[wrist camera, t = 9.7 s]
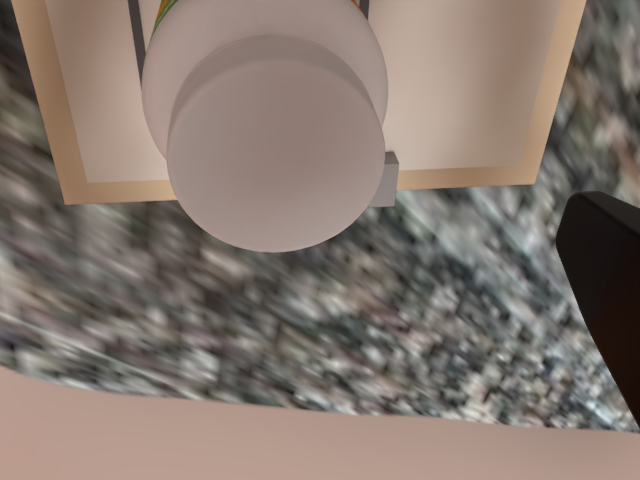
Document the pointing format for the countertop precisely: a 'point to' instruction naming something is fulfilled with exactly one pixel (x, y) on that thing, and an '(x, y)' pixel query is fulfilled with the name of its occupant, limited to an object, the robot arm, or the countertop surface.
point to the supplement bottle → (267, 116)
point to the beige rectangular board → (403, 91)
